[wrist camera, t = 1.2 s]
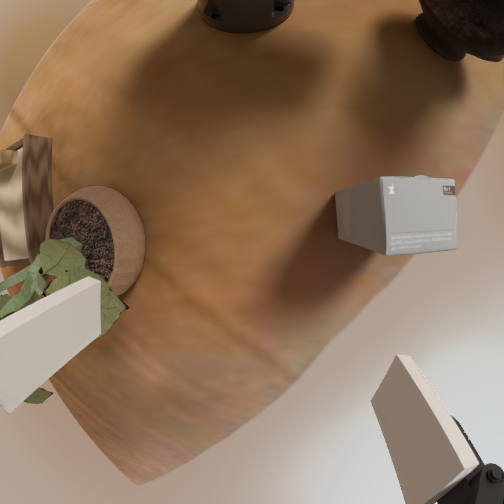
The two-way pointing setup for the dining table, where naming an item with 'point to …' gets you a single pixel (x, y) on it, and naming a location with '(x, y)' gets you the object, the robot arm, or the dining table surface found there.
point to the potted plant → (84, 255)
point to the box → (34, 194)
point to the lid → (12, 206)
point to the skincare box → (399, 215)
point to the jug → (463, 28)
